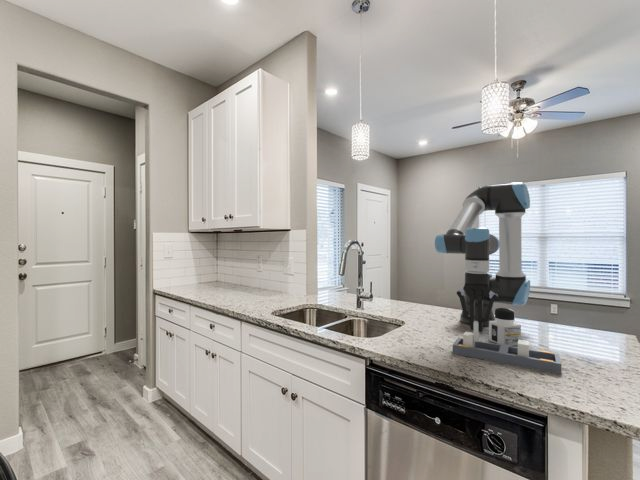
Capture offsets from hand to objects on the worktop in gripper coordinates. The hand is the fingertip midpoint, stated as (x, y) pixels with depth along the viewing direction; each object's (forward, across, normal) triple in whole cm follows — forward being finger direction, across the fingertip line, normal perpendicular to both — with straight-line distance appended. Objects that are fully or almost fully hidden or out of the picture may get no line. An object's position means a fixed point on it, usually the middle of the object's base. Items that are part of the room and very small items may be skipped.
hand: (476, 340), depth 111 cm
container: (+5, +7, +19) cm, 21 cm away
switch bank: (+4, +8, 0) cm, 9 cm away
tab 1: (+3, -2, 0) cm, 4 cm away
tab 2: (+3, +14, 0) cm, 14 cm away
